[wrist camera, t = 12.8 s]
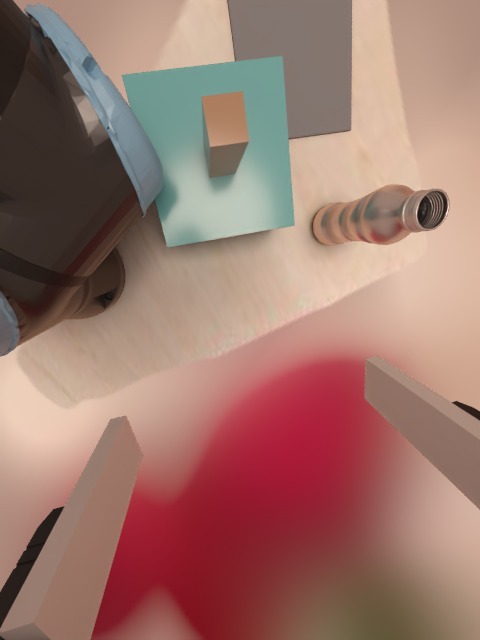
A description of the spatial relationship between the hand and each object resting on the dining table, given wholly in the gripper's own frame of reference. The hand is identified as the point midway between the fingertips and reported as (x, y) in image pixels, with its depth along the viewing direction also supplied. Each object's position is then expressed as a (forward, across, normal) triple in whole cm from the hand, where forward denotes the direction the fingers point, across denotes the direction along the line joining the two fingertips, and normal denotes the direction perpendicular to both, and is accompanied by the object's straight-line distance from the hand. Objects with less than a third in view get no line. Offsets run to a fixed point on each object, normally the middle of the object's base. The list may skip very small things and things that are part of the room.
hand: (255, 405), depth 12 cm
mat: (+31, +17, +30) cm, 46 cm away
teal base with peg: (+30, +3, +17) cm, 35 cm away
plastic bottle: (+31, +21, +8) cm, 38 cm away
